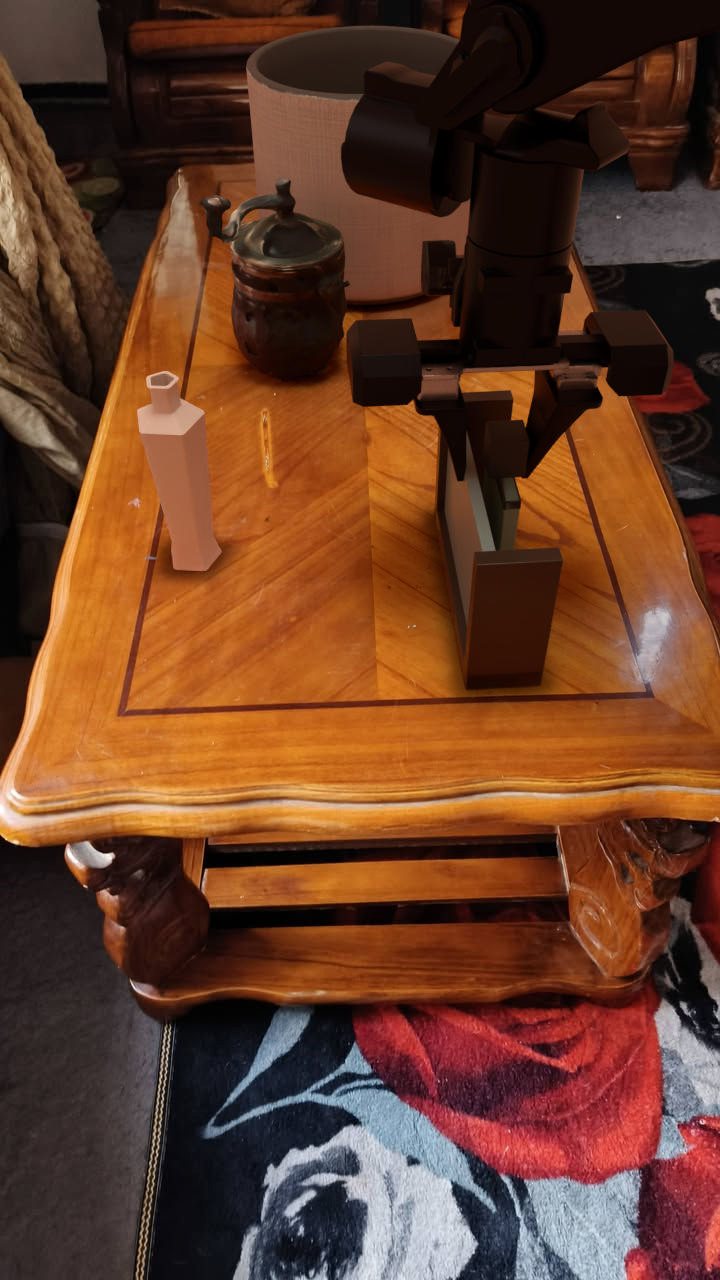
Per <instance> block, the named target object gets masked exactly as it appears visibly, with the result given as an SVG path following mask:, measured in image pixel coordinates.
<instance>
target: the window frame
mask: <svg viewBox="0 0 720 1280" xmlns="http://www.w3.org/2000/svg"><path fill="white" fill-rule="evenodd" d="M462 394H463V398H464V401H465V404H466V407H467V440H466V471H465V475H464V480H463V481H459V482H458V481H457V478H456V475H455V471H454V467H453V463H452V460H451V456H450V452H449V449H448V445H447V442H446V440H445V438H444V436H443V434H442V432H441V430H440V428H439V426H438V425H437V427H438V429H437V447H436V448H437V449H436V468H435V469H436V470H435V489H434V490H435V491H434V513H433V517H434V523H435V528H436V534H437V539H438V544H439V551H440V556H441V562H442V568H443V574H444V578H445V584H446V591H447V595H448V601H449V606H450V612H451V617H452V622H453V629H454V634H455V641H456V647H457V650H458V651H457V652H458V657H459V662H460V667H461V673H462V679H463V680H462V681H463V685H464V689H465V690H466V691H467V690H468V691H470V690H485V689H486V690H488V689H502V688H504V689H505V688H520V687H521V688H522V687H539V686H541V685H542V680H543V674H544V670H545V665H546V658H547V653H548V648H549V643H550V642H549V641H550V637H551V630H552V625H553V621H554V620H553V619H554V614H555V609H556V602H557V598H558V592H559V587H560V583H561V576H562V570H563V565H564V558H563V555H562V552H561V551H562V550H561V548H560V547H559V546H557V547H556V546H555V547H538V548H537V547H535V548H520V549H514V550H498V551H496V550H495V546H494V542H493V538H492V534H491V529H490V525H489V521H488V517H487V513H486V508H485V504H484V500H483V496H482V495H483V484H484V473H485V463H484V459H483V451H484V440H485V429H486V421H503V420H512V417H513V416H512V415H513V409H514V408H513V407H514V397H513V393H512V390H510V389H506V390H487V391H465V392H462Z"/></svg>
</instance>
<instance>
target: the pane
mask: <svg viewBox="0 0 720 1280" xmlns="http://www.w3.org/2000/svg"><path fill="white" fill-rule="evenodd" d="M529 443H530V440H529V437H528V434H527V431H526V423H525V421H524V419H511V420H503V421H486V429H485V440H484V451H483V459H484V463H485V473H484V484H483V495H482V496H483V500H484V504H485V508H486V513H487V517H488V521H489V525H490V529H491V534H492V538H493V542H494V546H495V550H496V551H498V550H515V546H516V540H517V539H516V538H517V532H518V524H519V518H520V517H519V516H520V510H521V508H522V498H521V494H520V491H519V487H518V483H517V481H516V480H517V479H516V478H522V477H525V474H526V466H527V458H528V451H529Z"/></svg>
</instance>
